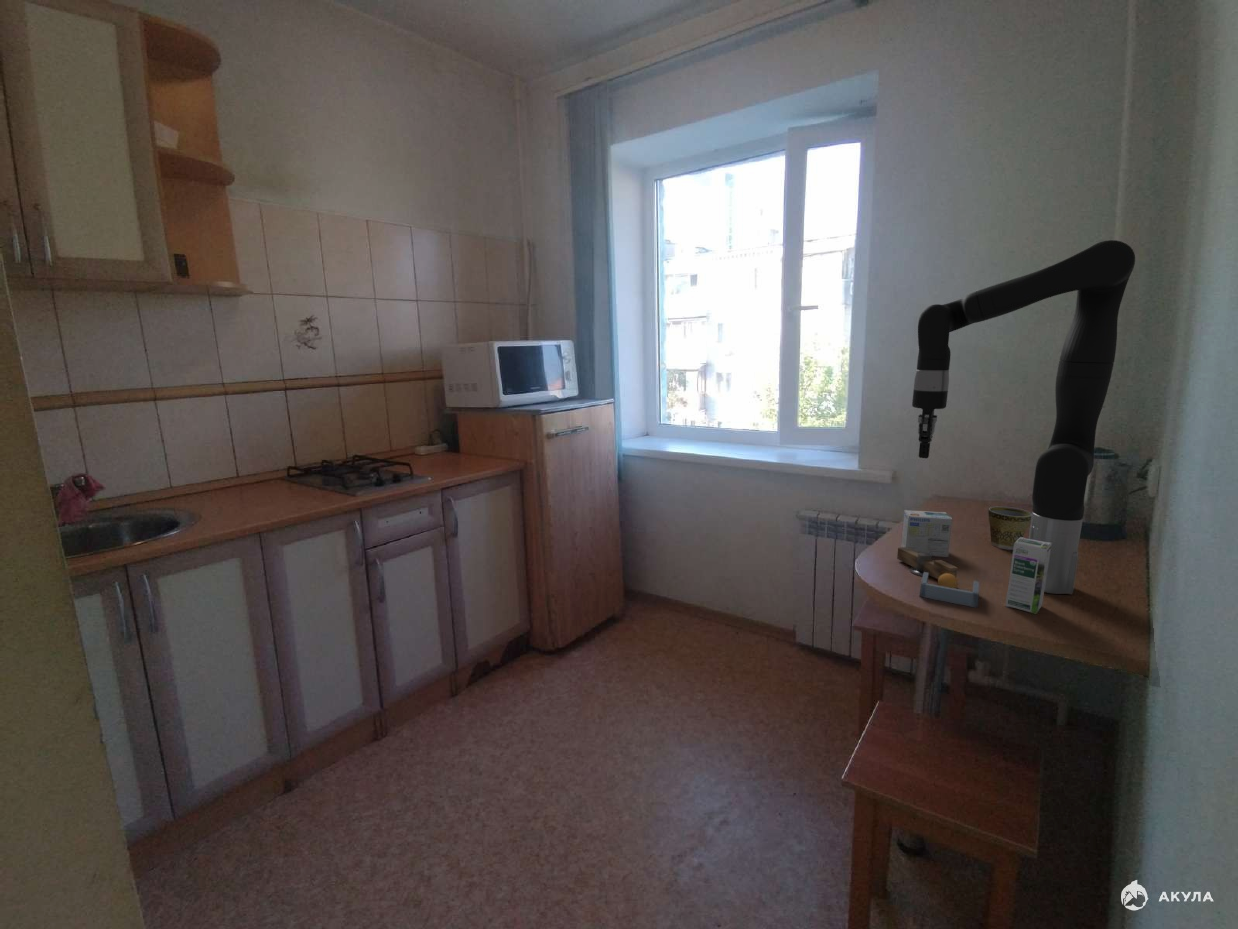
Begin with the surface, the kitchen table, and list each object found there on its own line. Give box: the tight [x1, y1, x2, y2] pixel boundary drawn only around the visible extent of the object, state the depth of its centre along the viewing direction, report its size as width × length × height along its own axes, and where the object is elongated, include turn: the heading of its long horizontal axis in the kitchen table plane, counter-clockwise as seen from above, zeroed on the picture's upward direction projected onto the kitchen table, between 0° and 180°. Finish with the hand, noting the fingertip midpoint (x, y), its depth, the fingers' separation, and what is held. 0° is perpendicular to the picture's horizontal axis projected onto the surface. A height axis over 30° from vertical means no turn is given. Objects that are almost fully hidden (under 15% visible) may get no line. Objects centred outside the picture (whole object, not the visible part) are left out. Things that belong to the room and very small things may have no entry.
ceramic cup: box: [987, 505, 1032, 551], centre depth 161 cm, size 13×10×10 cm
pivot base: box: [909, 566, 933, 578], centre depth 143 cm, size 6×6×1 cm
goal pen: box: [919, 572, 980, 609], centre depth 130 cm, size 11×8×3 cm
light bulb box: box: [901, 509, 953, 558], centre depth 156 cm, size 11×7×11 cm, turn 74°
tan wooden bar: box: [896, 546, 959, 580], centre depth 142 cm, size 17×3×4 cm, turn 14°
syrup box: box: [1005, 536, 1051, 615], centre depth 123 cm, size 6×6×14 cm
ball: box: [937, 573, 959, 589], centre depth 132 cm, size 4×4×4 cm
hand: (923, 457), depth 146 cm, fingers closed
